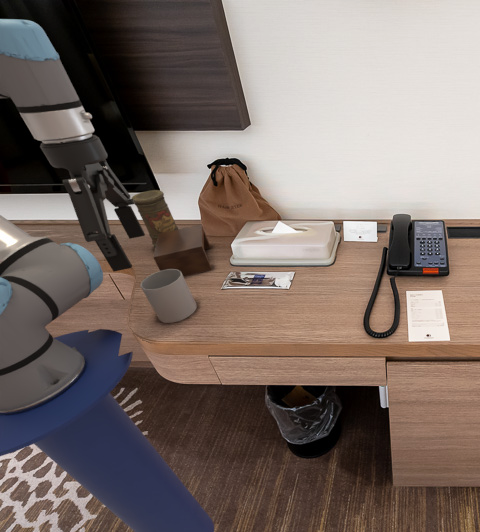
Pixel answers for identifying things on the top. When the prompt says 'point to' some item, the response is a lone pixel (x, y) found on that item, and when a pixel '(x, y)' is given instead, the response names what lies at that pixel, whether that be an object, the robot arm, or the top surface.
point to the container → (154, 213)
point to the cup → (169, 295)
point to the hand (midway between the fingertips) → (130, 251)
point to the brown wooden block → (183, 250)
